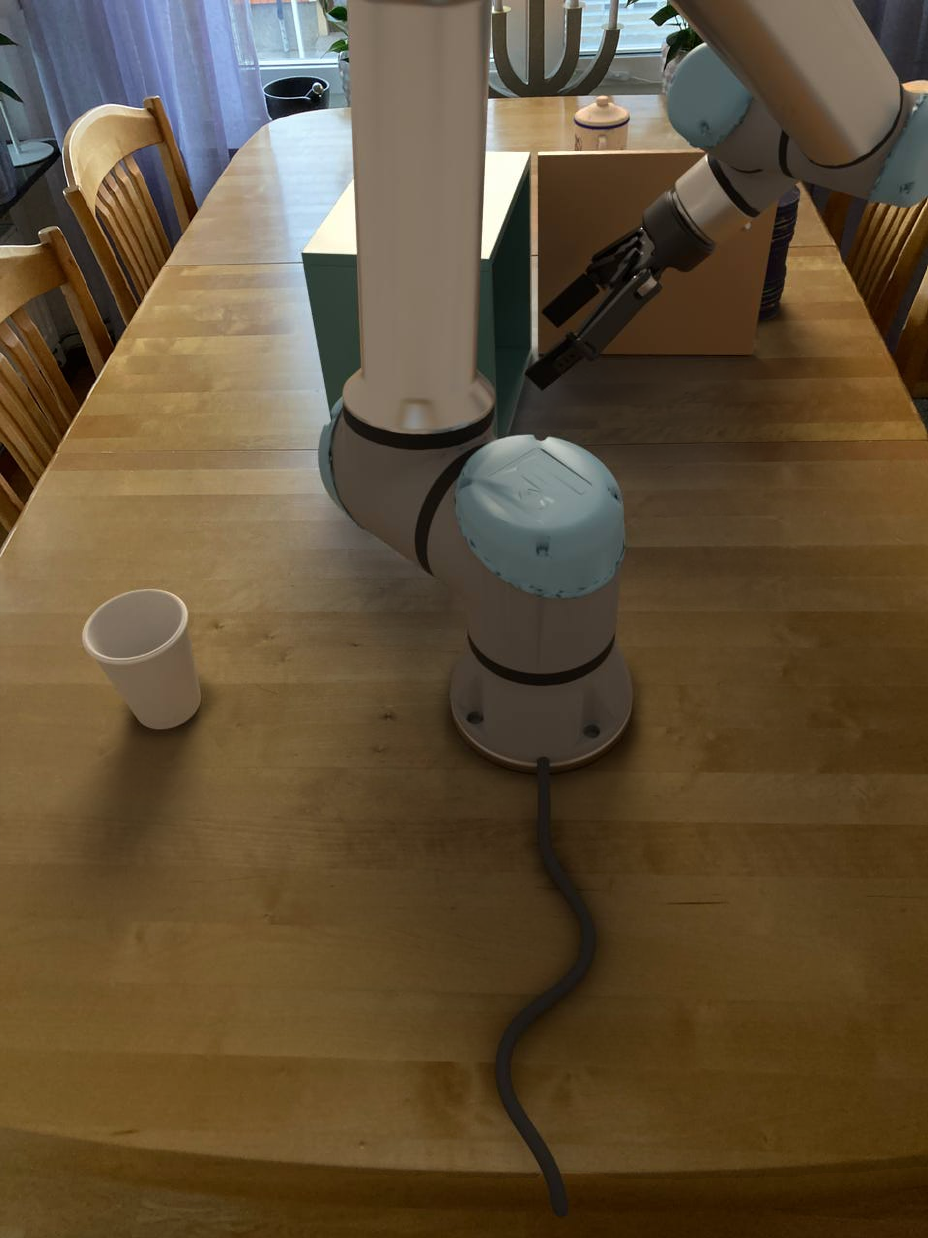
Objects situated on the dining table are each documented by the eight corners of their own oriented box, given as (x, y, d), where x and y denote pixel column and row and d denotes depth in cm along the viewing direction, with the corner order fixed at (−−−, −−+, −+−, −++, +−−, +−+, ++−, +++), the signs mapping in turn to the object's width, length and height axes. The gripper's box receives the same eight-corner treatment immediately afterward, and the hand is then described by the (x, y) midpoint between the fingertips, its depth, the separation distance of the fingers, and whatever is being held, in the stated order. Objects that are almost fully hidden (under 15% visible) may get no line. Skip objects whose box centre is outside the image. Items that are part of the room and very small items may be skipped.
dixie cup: (114, 685, 86) (76, 604, 79) (207, 657, 88) (178, 576, 81) (125, 754, 81) (85, 674, 74) (224, 723, 82) (195, 642, 75)
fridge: (532, 352, 123) (531, 151, 106) (497, 476, 105) (489, 258, 88) (395, 345, 126) (372, 149, 109) (338, 465, 108) (300, 252, 91)
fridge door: (540, 327, 127) (540, 132, 110) (746, 327, 124) (779, 127, 107) (537, 353, 122) (537, 154, 105) (751, 354, 119) (786, 150, 102)
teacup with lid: (572, 162, 168) (573, 89, 159) (625, 160, 167) (629, 86, 159) (573, 189, 159) (575, 113, 151) (629, 188, 158) (634, 111, 150)
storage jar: (723, 329, 125) (741, 212, 114) (691, 295, 131) (704, 182, 121) (794, 315, 126) (817, 199, 115) (758, 282, 133) (777, 170, 122)
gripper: (719, 304, 87) (551, 433, 100) (720, 194, 104) (577, 317, 118) (665, 244, 84) (500, 386, 98) (675, 141, 102) (533, 273, 115)
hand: (542, 348), depth 108 cm, fingers open, 13 cm apart
